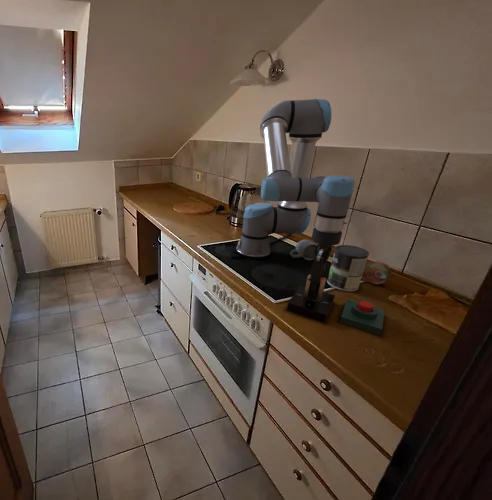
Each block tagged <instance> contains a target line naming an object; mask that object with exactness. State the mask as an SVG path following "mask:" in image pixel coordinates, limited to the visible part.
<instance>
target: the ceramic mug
mask: <svg viewBox="0 0 492 500" xmlns="http://www.w3.org/2000/svg"><path fill="white" fill-rule="evenodd" d="M317 245H318V243H316V242H314V241H312V240H308V239H301V240H299V241H298V242H297V243H296V244H295V249H292V250H291V251H290V252H289V256H290V257H291V258H293V259H298V258H303V259H304V260H306V261H313V259H314V258H313V257H314V255H315V248H316V247H317ZM295 253H297V254H295Z"/></svg>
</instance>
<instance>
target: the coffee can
mask: <svg viewBox="0 0 492 500" xmlns="http://www.w3.org/2000/svg"><path fill="white" fill-rule="evenodd" d="M369 256H370V252H369V251H368V250H366V248H363V247H359V246H355V245H349V244H341V245H340V244H338V245H335V247H334V251H333V255H332V258H331V259H332V260H331V264H330V268H329V272H328V275H327V278H326V283H327V284H328V285H329V286H330V287H331V288H334V289H337V290H340V291H343V292H356V291H357V290H359V288H360V284H361V281H362V279H361V278H362V274H363V271H364V268H365V264H366V261H367V258H369Z"/></svg>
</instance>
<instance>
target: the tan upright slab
mask: <svg viewBox="0 0 492 500" xmlns="http://www.w3.org/2000/svg"><path fill="white" fill-rule="evenodd" d="M310 277H311V274H308V275H307V277H306V282H305V286H304V287H305V291H304V296H303V298H306V299H310V298H307V295H308V290H309V286H310V281H309V280H308V279H309V278H310ZM320 282H321V283H320V287H319V291H318V295H317V300H313V299H310V300H313V301H317V302H321V299H322V295H323V292H324V290H325V286H326V283H327V278H326V277H325V278H323V277H322V278H321V279H320Z"/></svg>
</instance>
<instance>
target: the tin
mask: <svg viewBox="0 0 492 500" xmlns="http://www.w3.org/2000/svg"><path fill="white" fill-rule="evenodd" d="M391 277H392V270H391V268H390V266H389V265H387V264H386V263H384V262H382V261H379V260H375V259H372V258H370V257H368V258H367V261H366V264H365V268H364V271H363V274H362V278H361V281H365V282H367V283H370V284H373V285H382V284H385V283H387V282H388V281H389V280H390V279H391Z"/></svg>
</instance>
